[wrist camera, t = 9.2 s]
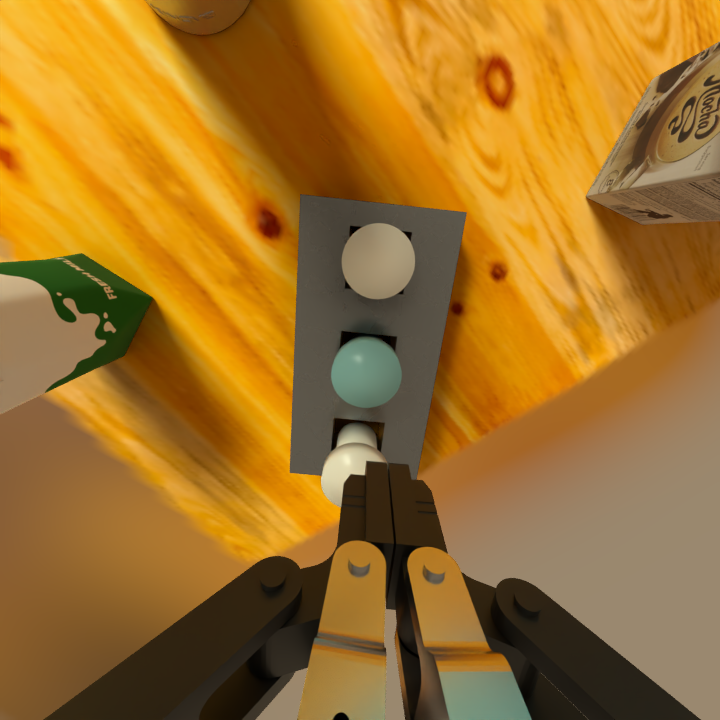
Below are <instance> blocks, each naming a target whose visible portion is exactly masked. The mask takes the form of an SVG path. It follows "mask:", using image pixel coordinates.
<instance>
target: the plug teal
mask: <svg viewBox="0 0 720 720" xmlns="http://www.w3.org/2000/svg"><path fill="white" fill-rule="evenodd" d="M401 378H402V371H401V366H400V363H399V359H398V357H397V355H396V353H395V351H394V350H393V348H392V347H391V346H390V345H388V344H387V343H386V342H384V341H383V340H382V339H381V338H380V337H379V336H378V335H376V334H367V333H358V334H356V335H354V336H353V337H352V338H351V339H350V340H349V342H347V343H346V344H344V345H343V346H342V347H341V348H340V349H339V351H338V352H337V354H336V356H335V359H334V362H333V366H332V371H331V379H332V384H333V387H334V389H335V391H336V392H337V394H338V395H339V396H340V397H341V398H342V399H343V400H344V401H346V402H347V403H349V404H351V405H353V406H357V407H362V408H372V407H376V406H379V405H382V404H384V403H386V402H387V401H389V400H390V399H391V398H392V397H393V396H394V395H395V394H396V392H397V391H398V389H399V386H400V384H401Z"/></svg>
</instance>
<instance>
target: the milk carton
mask: <svg viewBox="0 0 720 720" xmlns="http://www.w3.org/2000/svg"><path fill="white" fill-rule="evenodd" d="M152 299H153V298H152V297H151V296H149V295H147V294H146V293H144V292H143V291H141V290H140V289H138V288H136V287H135V286H133V285H132V284H130V283H128V282H127V281H125V280H124V279H122V278H120V277H119V276H117V275H116V274H114V273H112V272H111V271H109V270H108V269H106V268H104V267H103V266H101V265H100V264H98V263H96V262H95V261H93V260H92V259H90V258H88V257H87V256H85V255H84V254H82V253H81V254H75V255H70V256H64V257H58V258H52V259H47V260H33V261H18V262H2V263H0V414H2V413H4V412H6V411H8V410H10V409H12V408H15V407H16V406H19V405H21V404H23V403H25V402H27V401H29V400H31V399H33V398H35V397H37V396H39V395H42V394H44V393H46V392H48V391H50V390H52V389H54V388H56V387H58V386H60V385H63V384H65V383H67V382H69V381H71V380H73V379H75V378H77V377H79V376H81V375H83V374H85V373H88V372H90V371H92V370H94V369H96V368H98V367H101V366H103V365H105V364H107V363H110V362H112V361H114V360H116V359H118V358H121V357H123V356H124V355H125V353H126V351H127V349H128V347H129V345H130V343H131V341H132V339H133V337H134V335H135V333H136V331H137V329H138V327H139V325H140V323H141V321H142V319H143V317H144V315H145V313H146V311H147V309H148V307H149V305H150V303H151V301H152Z"/></svg>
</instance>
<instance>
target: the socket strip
mask: <svg viewBox="0 0 720 720" xmlns="http://www.w3.org/2000/svg"><path fill="white" fill-rule="evenodd" d="M466 213H467V212H458V211H449V210H440V209H430V208H421V207H412V206H403V205H394V204H384V203H375V202H366V201H357V200H348V199H339V198H329V197H320V196H311V195H302V194H300V220H299V246H298V272H297V298H296V324H295V351H294V377H293V403H292V429H291V455H290V473H298V474H309V475H320V476H322V472H323V467H324V462H325V460H326V458H327V456H328V455H329V453H330V452H331V451H333V450H334V449H335V448H336V446H337V439H338V434H339V433H335V421H336V418H341V419H351V420H362V421H372V422H379V427H378V435H377V437H376V439H377V450H379V451H380V452H381V453H382V455H383V456H384V457H385V459H386V461H387V463H398V464H408V465H409V469H410V474H411V479H412V480H416V479H417V473H418V468H419V463H420V457H421V452H422V447H423V441H424V436H425V431H426V425H427V420H428V415H429V410H430V404H431V399H432V394H433V388H434V383H435V378H436V372H437V367H438V362H439V356H440V351H441V346H442V341H443V335H444V330H445V325H446V319H447V314H448V309H449V303H450V298H451V293H452V287H453V282H454V277H455V272H456V266H457V261H458V256H459V250H460V245H461V240H462V234H463V229H464V224H465V219H466ZM374 223H384V224H389V225H392V226H394V227H396V228H398V229H399V230H401V231H402V232H403V233H405V235H406V236H407V238H408V239H409V241H410V242H411V244H412V247H413V250H414V254H415V267H414V272H413V274H412V277H411V279H410V281H409V282H408V284H407V285H406V286H405V287H404V288H403V289H402V290H401V291H400V292H399V293H397V294H396V295H394V296H391V297H389V298H385V299H370V298H367V297H364V296H362V295H360V294H358V293H357V292H356V291H354V290H353V289H352V288H351V286H350V285H349V284H348V282H347V281H346V279H345V276H344V274H343V270H342V254H343V250H344V247H345V245H346V243H347V241H348V240H349V238H350V237H351V236H352V228H362V227H364V226H366V225H369V224H374ZM343 331H348V332H358V333H367V334H377V335H387V336H391V339H390V346H391V347H392V348H393V350H394V351H395V353H396V355H397V357H398V359H399V363H400V366H401V371H402V378H401V384H400V386H399V389H398V391H397V392H396V394H395V395H394V396H393V397H392V398H391V399H390V400H389V401H387V402H386V403H384V404H382V405H379V406H376V407H372V408H362V407H357V406H353V405H351V404H349V403H347V402H346V401H344V400H343V399H342V398H341V397H340V396H339V395H338V394H337V392H336V391H335V389H334V387H333V384H332V379H331V371H332V366H333V362H334V359H335V356H336V354H337V352H338V351H339V349H340V348H341V347H342V341H343Z"/></svg>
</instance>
